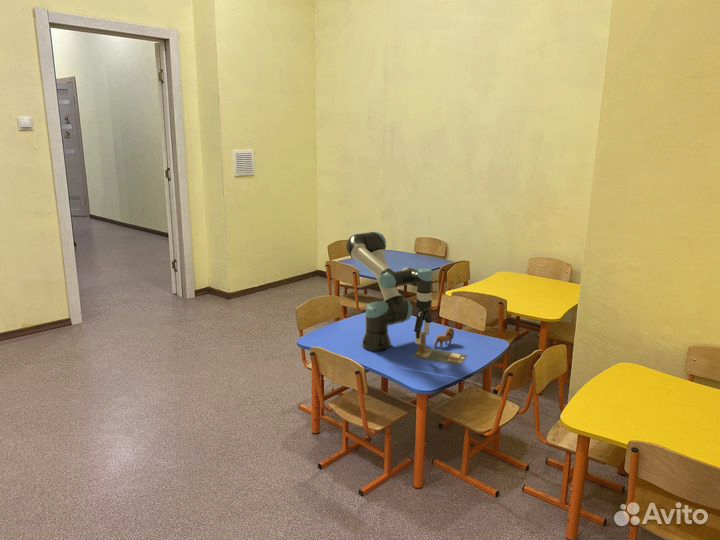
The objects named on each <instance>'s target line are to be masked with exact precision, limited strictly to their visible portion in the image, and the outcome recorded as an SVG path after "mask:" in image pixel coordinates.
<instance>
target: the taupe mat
mask: <svg viewBox="0 0 720 540" xmlns="http://www.w3.org/2000/svg"><path fill="white" fill-rule="evenodd" d="M426 349H429V348H428V347H426ZM430 349H431V350H433V351H432V353H431V354H430V355H429V356H428V357H421V356H416V354H417V352H418V350H417V351H416V352H415V353H414V354H413V356H412V358H415V359H420V360H427V361H432V362H437V363H442V364H448V365H454V366H460V367H461V366H462V365H463V364H464V363H465V361H466V359H467V358H468V357H469V355H467V354H463V353H460V354H461V359H460V360H459V361H453V360H449V356H450V354H451V353H452V352H450V351H445V350H439V349H435V348H434V349H433V348H430ZM454 353H455V354H458V353H456V352H454Z"/></svg>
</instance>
